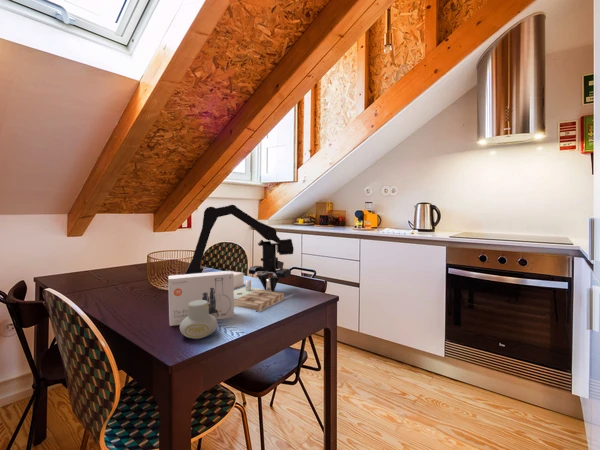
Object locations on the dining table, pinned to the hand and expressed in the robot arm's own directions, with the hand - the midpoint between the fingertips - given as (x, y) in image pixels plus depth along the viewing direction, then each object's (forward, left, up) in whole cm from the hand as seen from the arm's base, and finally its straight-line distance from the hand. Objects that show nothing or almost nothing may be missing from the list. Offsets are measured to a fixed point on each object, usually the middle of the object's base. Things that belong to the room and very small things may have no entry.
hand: (269, 291), depth 140 cm
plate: (-4, +11, -2) cm, 12 cm away
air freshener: (-46, -6, -2) cm, 46 cm away
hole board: (-12, -3, -2) cm, 12 cm away
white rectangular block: (0, +23, -2) cm, 23 cm away
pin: (0, 0, -2) cm, 2 cm away
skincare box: (-36, +3, -2) cm, 36 cm away
